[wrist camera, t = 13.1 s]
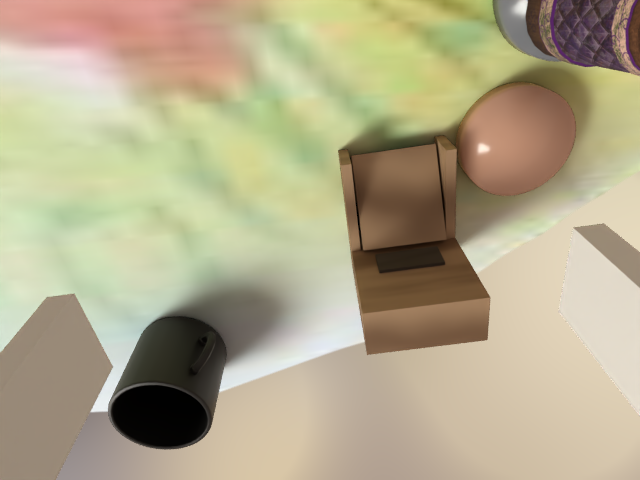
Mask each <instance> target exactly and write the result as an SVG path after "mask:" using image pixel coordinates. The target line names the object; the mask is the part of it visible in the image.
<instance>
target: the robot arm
mask: <svg viewBox="0 0 640 480" xmlns="http://www.w3.org/2000/svg"><path fill="white" fill-rule="evenodd" d="M559 313H560V314H561V315H562V317H563V318H564V319H565V320H566V322H567V323H568V324H569V326H570V327H571V328H572V330H573V331H574V332H575V334H576V335H577V336H578V337H579V339H580V340H581V341H582V342H583V344H584V345H585V346H586V348H587V349H588V350H589V352H590V353H591V354H592V355H593V356H594V358H595V359H596V361H597V362H598V363H599V364H600V366H601V367H602V368H603V370H604V371H605V372H606V373H607V375H608V376H609V377H610V379H611V380H612V381H613V383H614V384H615V385H616V386H617V388H618V389H619V390H620V392H621V393H622V394H623V396H624V397H625V398H626V399H627V401H628V402H629V403H630V405H631V406H632V407H633V408H634V410H635V411H636V412H637V413H638V415H639V416H640V252H639V251H638V250H636V249H635V248H634V247H632V246H631V245H630V244H629V243H628V242H626V241H625V240H624V239H622V238H621V237H620V236H619V235H618V234H616V233H615V232H614V231H612V230H611V229H610V228H609V227H608V226H606V225H605V224H597V225H589V226H581V227H574V228H573V231H572V237H571V242H570V248H569V254H568V260H567V266H566V272H565V278H564V283H563V289H562V295H561V301H560V307H559ZM112 368H113V366H112V364H111V362H110V360H109V359H108V357H107V355H106V353H105V351H104V349H103V347H102V345H101V343H100V341H99V340H98V338H97V336H96V334H95V332H94V330H93V328H92V326H91V324H90V322H89V321H88V319H87V317H86V315H85V313H84V311H83V309H82V307H81V305H80V304H79V302H78V300H77V298H76V296H75V294H68V295H61V296H53V297H47V298H46V299H45V300H44V301H43V302H42V304H41V305H40V306H39V307H38V309H37V310H36V311H35V312H34V313H33V315H32V316H31V317H30V318H29V319H28V321H27V322H26V323H25V324H24V325H23V327H22V328H21V329H20V330H19V331H18V333H17V334H16V335H15V336H14V337H13V339H12V340H11V341H10V342H9V343H8V345H7V346H6V347H5V348H4V349H3V351H2V352H1V353H0V480H56V478H57V476H58V474H59V472H60V470H61V468H62V466H63V464H64V462H65V460H66V458H67V456H68V455H69V453H70V451H71V449H72V446H73V445H74V443H75V441H76V439H77V437H78V435H79V433H80V431H81V429H82V427H83V425H84V423H85V421H86V419H87V417H88V415H89V413H90V411H91V409H92V407H93V405H94V403H95V401H96V399H97V397H98V395H99V393H100V391H101V389H102V387H103V385H104V383H105V381H106V380H107V378H108V376H109V374H110V372H111V370H112Z"/></svg>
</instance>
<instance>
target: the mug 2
mask: <svg viewBox="0 0 640 480" xmlns="http://www.w3.org/2000/svg"><path fill="white" fill-rule="evenodd" d="M525 18H526V25H527V32H528V35H529V37H530V38H531V40H532V42H533V44H534V46H535V47H536V48H538V49H539V50H540V51H541V52H543V53H544V54H545V55H549V56H552V57H556V58H557V59H558V60H560V61H564V62H567V63H571V64H575V65H579V66H583V67H592V66H598V67H603V68H608V69H613V70H618V71H623V72H628V73H631V74H635V75H638V76H640V0H528V3H527V10H526V17H525Z"/></svg>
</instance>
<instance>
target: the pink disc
mask: <svg viewBox="0 0 640 480" xmlns="http://www.w3.org/2000/svg"><path fill="white" fill-rule="evenodd" d="M575 134H576V123H575V118H574V114H573V112H572V109H571V108H570V106H569V104H568V103H567V102H566V101H565V100H564V99H563V98H562V97H561V96H560V95H558V94H557V93H555V92H553V91H551V90H549V89H546V88H544V87H542V86H539V85H536V84H533V83H528V82H515V83H509V84H505V85H502V86H499V87H497V88H495V89H493V90H491V91H489V92H488V93H486V94H485V95H483V96H482V97H481V98H480V99H478V100H477V101H476V102H475V103H474V104H473V105H472V107H471V108H470V109H469V110H468V112H467V113H466V115H465V116H464V118H463V120H462V122H461V124H460V127H459V129H458V133H457V137H456V149H457V158H458V161H459V164H460V166H461V167H462V169H463V170H464V172H465V173H466V174H467V175H468V177H469V178H470V179H471V180H472V181H473V182H474V183H475V184H476V185H477V186H478V187H479V188H481V189H482V190H484V191H486V192H488V193H492V194H495V195H502V196H510V195H518V194H522V193H525V192H528V191H531V190H533V189H535V188H537V187H539V186H541V185H542V184H544V183H545V182H547V181H548V180H549V179H550V178H552V177H553V176H554V175H555V174H556V173H557V172H558V171H559V170H560V168H561V167H562V166H563V165H564V163H565V161H566V160H567V158H568V156H569V154H570V152H571V150H572V147H573V145H574V140H575Z"/></svg>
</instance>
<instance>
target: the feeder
mask: <svg viewBox="0 0 640 480" xmlns="http://www.w3.org/2000/svg"><path fill="white" fill-rule="evenodd" d="M338 153H339V161H340V169H341V177H342V185H343V193H344V202H345V210H346V218H347V226H348V234H349V242H350V250H351V259H352V267H353V273H354V279H355V285H356V291H357V297H358V303H359V309H360V315H361V321H362V327H363V333H364V339H365V345H366V351H367V355H368V354H377V353H385V352H393V351H401V350H410V349H418V348H425V347H434V346H442V345H451V344H459V343H467V342H475V341H484V340H487V338H488V324H489V310H490V296H489V294H488V293H487V291H486V289H485V288H484V286H483V285H482V283H481V281H480V279H479V277H478V276H477V274H476V272H475V271H474V269H473V267H472V266H471V264H470V262H469V261H468V259H467V257H466V255H465V254H464V252H463V250H462V249H461V247H460V245H459V244H458V242H457V240H456V239H455V215H456V159H457V149H456V148H455V147H454V146H453V145H452V143H451V142H450V141H449V140H448V139H447V138H446V137H445V136H444V135H443V136H436V137H435V144H430V145H423V146H416V147H409V148H402V149H395V150H388V151H381V152H374V153H367V154H360V155H353V156H351V161H352V166H351V161H350V157H349V153H348V149H346V150H339V151H338ZM352 168H353V175H352ZM353 176H354V184H355V191H356V199H357V207H358V214H359V222H360V230H358V221H357V212H356V203H355V193H354V184H353Z"/></svg>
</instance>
